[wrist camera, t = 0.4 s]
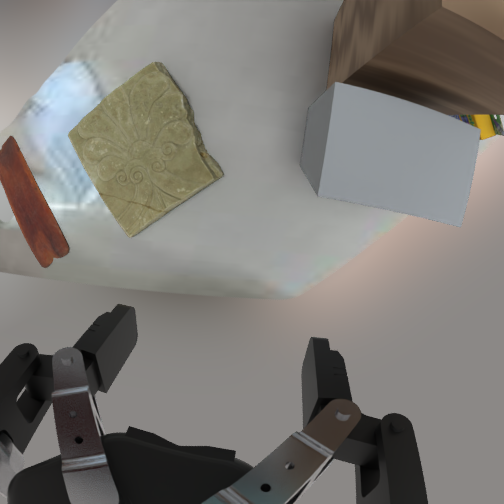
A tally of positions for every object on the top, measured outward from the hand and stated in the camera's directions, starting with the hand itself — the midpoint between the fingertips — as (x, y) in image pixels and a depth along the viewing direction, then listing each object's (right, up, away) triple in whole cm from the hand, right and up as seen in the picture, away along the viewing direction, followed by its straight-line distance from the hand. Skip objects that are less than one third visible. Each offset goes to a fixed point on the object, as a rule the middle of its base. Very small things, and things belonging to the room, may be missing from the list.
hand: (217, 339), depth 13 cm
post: (+18, +29, +20) cm, 39 cm away
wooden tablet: (-41, +14, +33) cm, 54 cm away
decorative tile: (-14, +19, +28) cm, 37 cm away
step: (+14, +18, +25) cm, 34 cm away
